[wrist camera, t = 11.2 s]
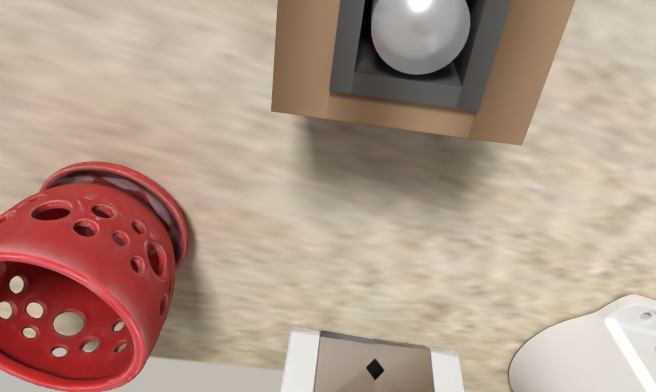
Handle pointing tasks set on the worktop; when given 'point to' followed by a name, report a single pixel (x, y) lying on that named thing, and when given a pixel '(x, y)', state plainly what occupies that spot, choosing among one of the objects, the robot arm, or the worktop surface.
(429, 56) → the peg
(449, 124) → the socket block
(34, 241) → the plant pot
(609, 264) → the worktop surface
